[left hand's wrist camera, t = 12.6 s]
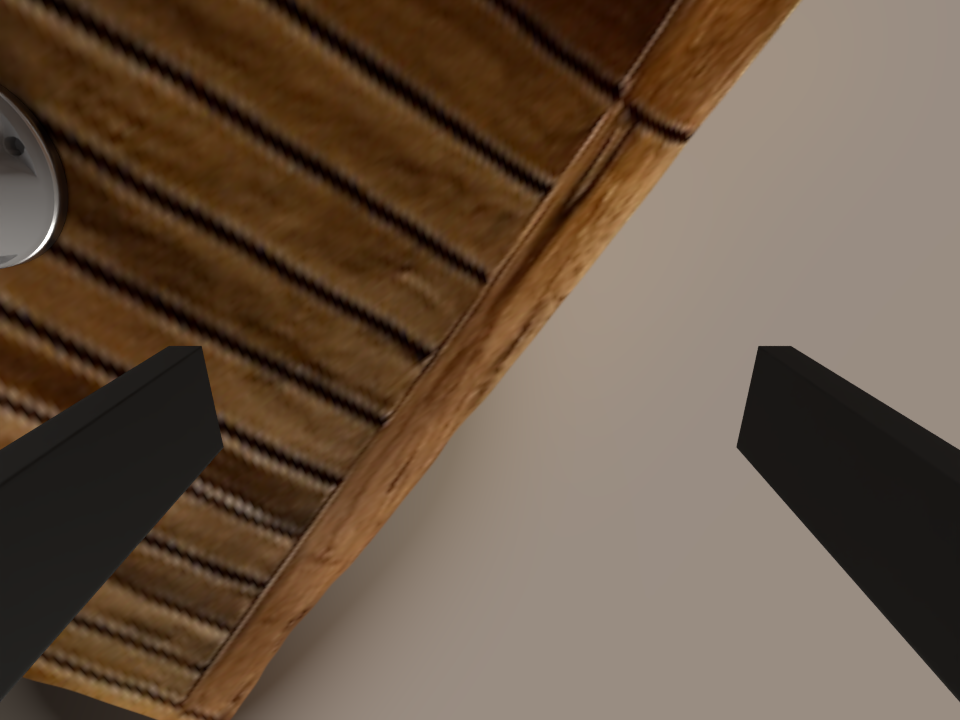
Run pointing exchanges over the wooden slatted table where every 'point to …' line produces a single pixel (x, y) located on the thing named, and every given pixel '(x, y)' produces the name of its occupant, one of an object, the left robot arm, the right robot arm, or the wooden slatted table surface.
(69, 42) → the wooden slatted table surface
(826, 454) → the left robot arm
